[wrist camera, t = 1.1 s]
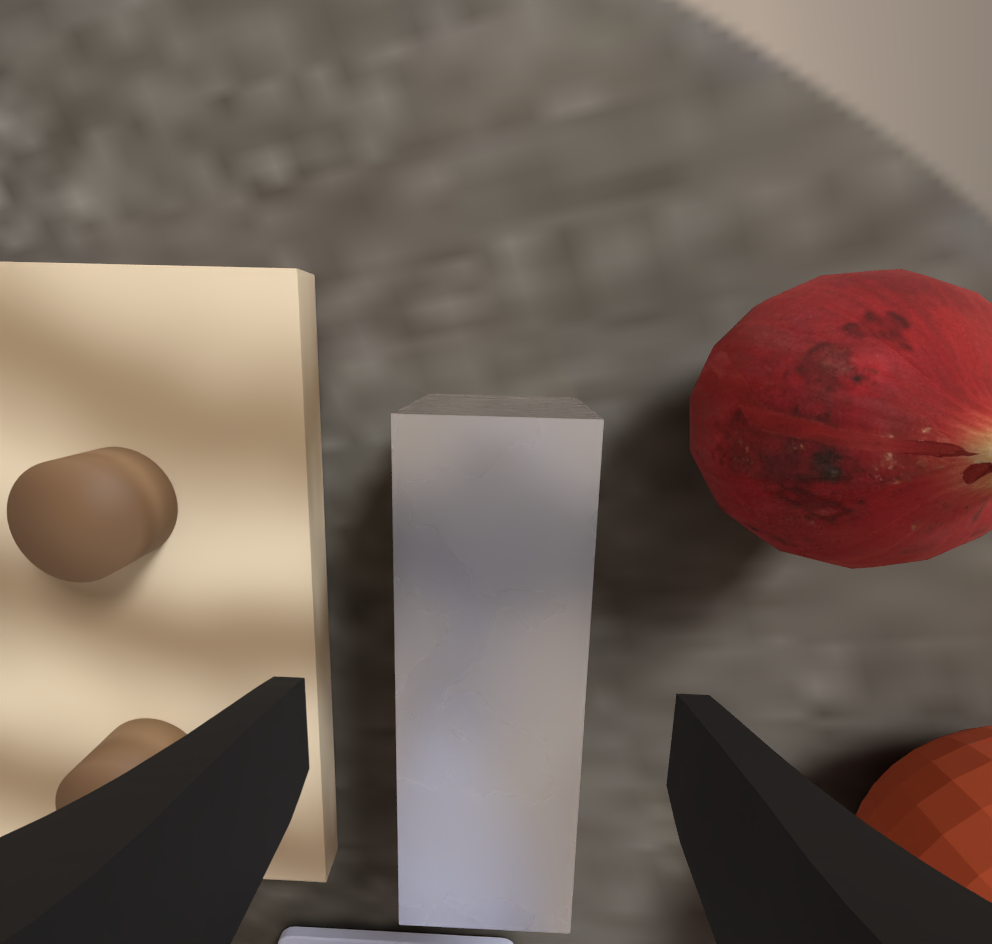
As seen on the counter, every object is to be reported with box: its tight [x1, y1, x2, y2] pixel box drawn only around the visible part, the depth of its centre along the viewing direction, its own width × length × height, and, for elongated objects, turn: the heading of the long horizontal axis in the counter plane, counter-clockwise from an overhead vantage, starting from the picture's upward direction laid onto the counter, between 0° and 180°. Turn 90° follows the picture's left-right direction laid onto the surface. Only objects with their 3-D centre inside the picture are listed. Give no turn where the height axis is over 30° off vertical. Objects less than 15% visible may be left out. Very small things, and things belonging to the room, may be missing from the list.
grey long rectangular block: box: [391, 394, 604, 933], centre depth 14 cm, size 12×4×5 cm, turn 179°
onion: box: [689, 269, 992, 569], centre depth 11 cm, size 6×6×8 cm
